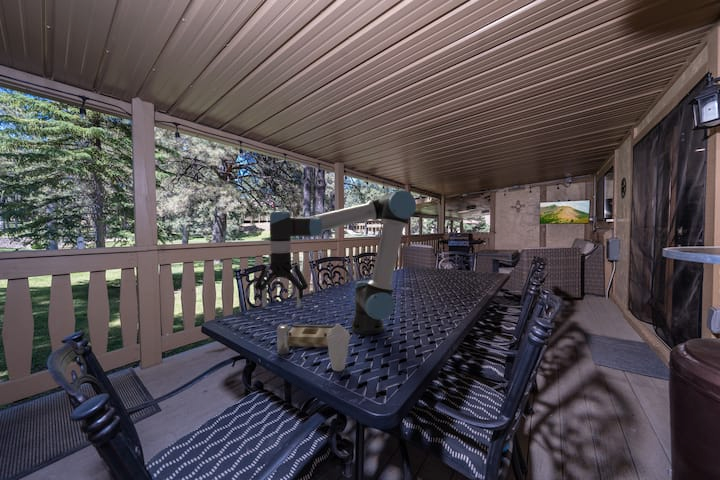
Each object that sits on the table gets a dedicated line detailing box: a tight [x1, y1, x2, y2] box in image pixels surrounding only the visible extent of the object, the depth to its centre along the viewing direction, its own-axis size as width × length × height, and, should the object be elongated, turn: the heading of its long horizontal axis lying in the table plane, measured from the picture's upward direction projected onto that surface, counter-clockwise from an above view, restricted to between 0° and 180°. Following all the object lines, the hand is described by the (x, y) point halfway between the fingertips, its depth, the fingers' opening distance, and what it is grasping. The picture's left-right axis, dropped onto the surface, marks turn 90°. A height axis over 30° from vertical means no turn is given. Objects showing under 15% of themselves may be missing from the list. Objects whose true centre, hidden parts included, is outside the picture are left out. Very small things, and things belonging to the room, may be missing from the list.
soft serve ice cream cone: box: [326, 322, 351, 372], centre depth 93 cm, size 8×8×16 cm
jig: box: [289, 323, 334, 348], centre depth 116 cm, size 18×12×5 cm, turn 86°
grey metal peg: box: [276, 324, 290, 356], centre depth 106 cm, size 4×4×10 cm
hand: (281, 306), depth 105 cm, fingers open, 13 cm apart
